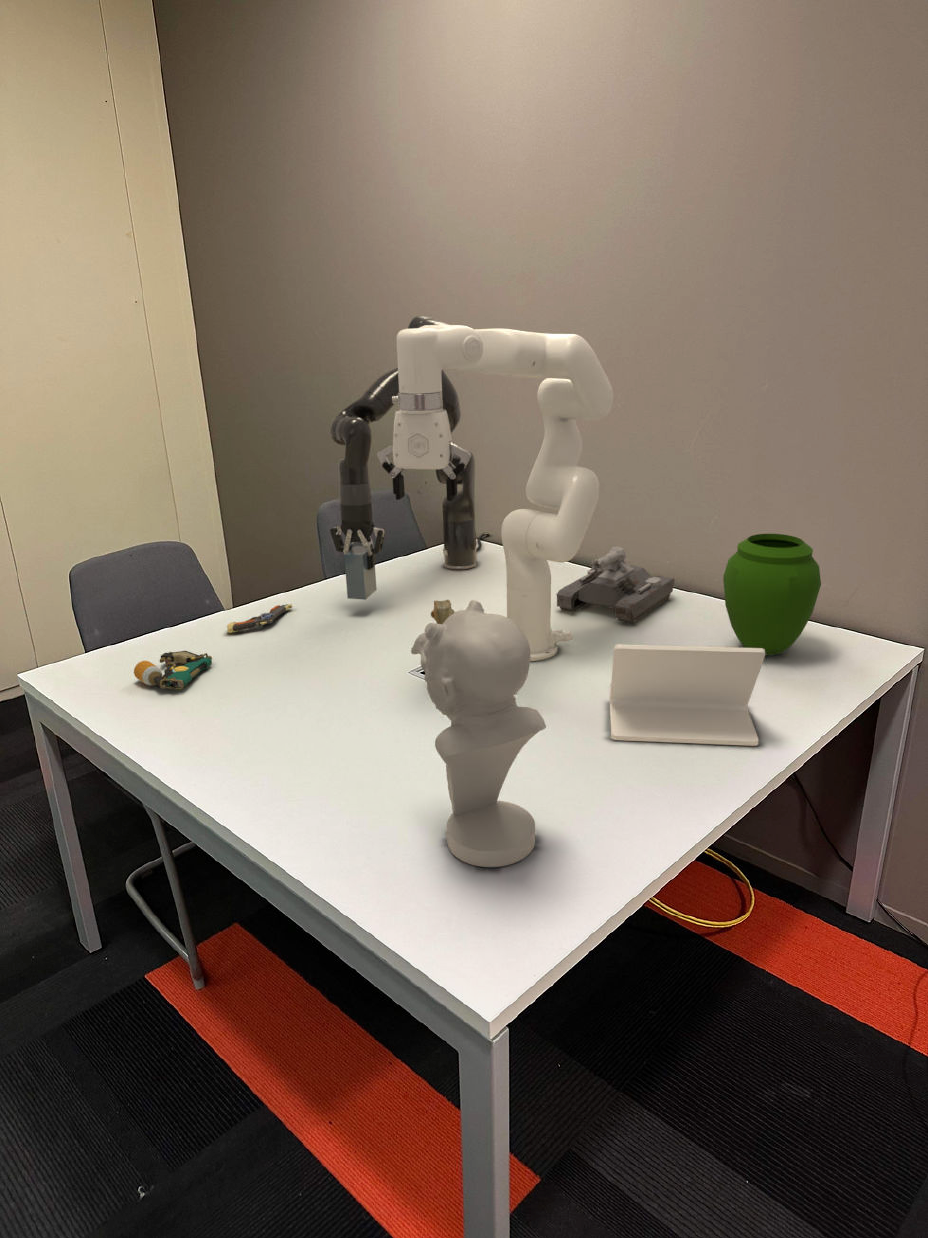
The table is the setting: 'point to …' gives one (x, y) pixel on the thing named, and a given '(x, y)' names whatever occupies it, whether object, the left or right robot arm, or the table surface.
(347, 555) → the brick
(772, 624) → the vase
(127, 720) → the table surface
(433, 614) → the sculpture
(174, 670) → the green toy blaster
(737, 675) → the tablet stand
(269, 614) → the toy gun
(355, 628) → the table surface
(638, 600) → the toy
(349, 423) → the left robot arm
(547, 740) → the table surface
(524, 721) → the bust sculpture
